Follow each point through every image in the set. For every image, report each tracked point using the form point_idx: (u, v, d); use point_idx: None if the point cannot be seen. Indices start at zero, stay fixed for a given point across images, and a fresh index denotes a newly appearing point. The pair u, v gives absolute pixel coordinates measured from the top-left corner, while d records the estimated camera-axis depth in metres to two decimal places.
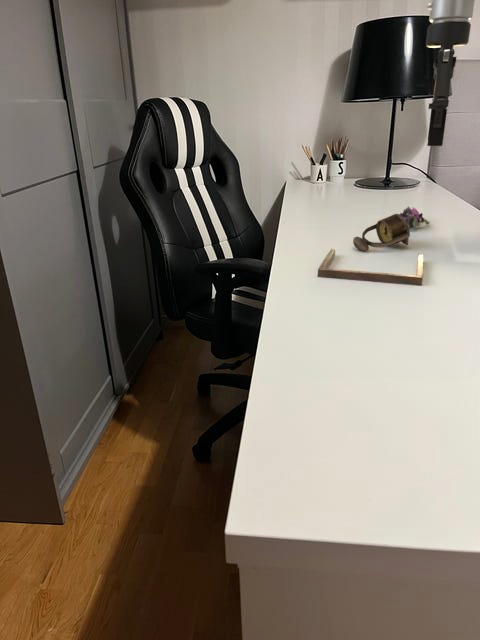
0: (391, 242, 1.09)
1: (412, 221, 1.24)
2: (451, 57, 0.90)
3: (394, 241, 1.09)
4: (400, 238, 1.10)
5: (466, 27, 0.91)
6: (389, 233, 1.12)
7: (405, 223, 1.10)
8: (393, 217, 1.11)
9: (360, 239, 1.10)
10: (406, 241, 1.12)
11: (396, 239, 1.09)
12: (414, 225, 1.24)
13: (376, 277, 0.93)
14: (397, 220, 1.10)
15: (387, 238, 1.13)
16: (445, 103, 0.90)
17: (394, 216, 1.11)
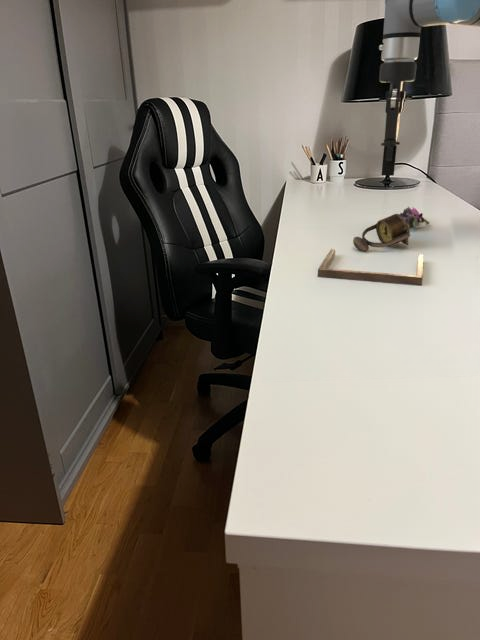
0: (391, 242, 1.09)
1: (412, 221, 1.24)
2: (397, 105, 1.05)
3: (394, 241, 1.09)
4: (400, 238, 1.10)
5: (412, 67, 1.05)
6: (389, 233, 1.12)
7: (405, 223, 1.10)
8: (393, 217, 1.11)
9: (360, 239, 1.10)
10: (406, 241, 1.12)
11: (396, 239, 1.09)
12: (414, 225, 1.24)
13: (376, 277, 0.93)
14: (397, 220, 1.10)
15: (387, 238, 1.13)
16: (393, 143, 1.11)
17: (394, 216, 1.11)
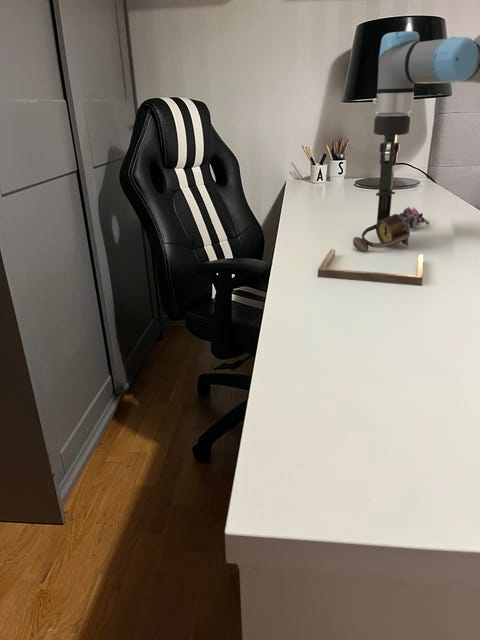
0: (391, 242, 1.09)
1: (412, 221, 1.24)
2: (391, 159, 1.06)
3: (394, 241, 1.09)
4: (400, 238, 1.10)
5: (406, 121, 1.05)
6: (389, 233, 1.11)
7: (405, 223, 1.10)
8: (393, 217, 1.11)
9: (360, 239, 1.10)
10: (406, 241, 1.12)
11: (396, 239, 1.09)
12: (414, 225, 1.24)
13: (376, 277, 0.93)
14: (397, 220, 1.10)
15: (387, 238, 1.13)
16: (388, 194, 1.11)
17: (394, 216, 1.11)
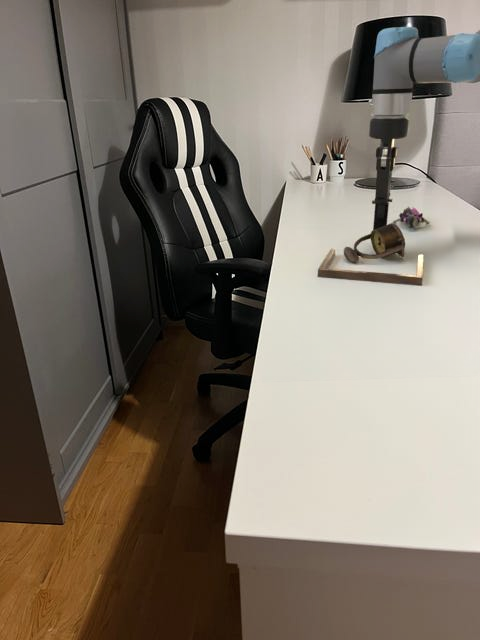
0: (383, 254, 1.02)
1: (412, 221, 1.24)
2: (388, 165, 0.98)
3: (387, 253, 1.02)
4: (394, 250, 1.02)
5: (404, 124, 0.98)
6: (383, 244, 1.04)
7: (400, 234, 1.02)
8: (388, 227, 1.03)
9: (350, 250, 1.03)
10: (402, 253, 1.04)
11: (389, 251, 1.02)
12: (414, 225, 1.24)
13: (376, 277, 0.93)
14: (391, 230, 1.02)
15: (381, 249, 1.06)
16: (385, 202, 1.04)
17: (389, 226, 1.03)
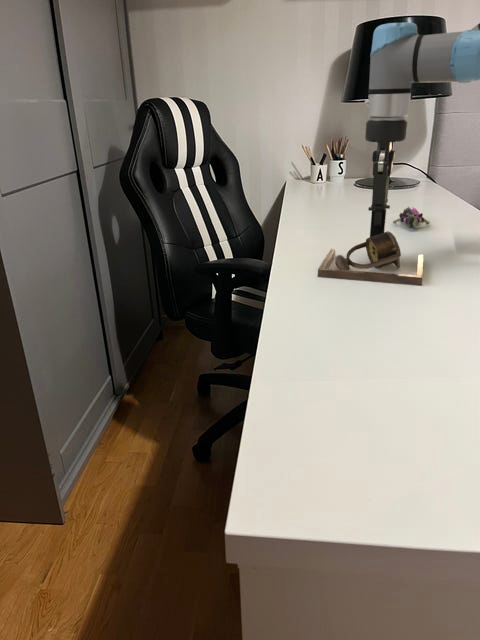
0: (375, 264, 0.96)
1: (412, 221, 1.24)
2: (385, 170, 0.92)
3: (379, 263, 0.96)
4: (387, 260, 0.96)
5: (402, 126, 0.92)
6: (377, 253, 0.98)
7: (395, 243, 0.96)
8: (382, 235, 0.97)
9: (341, 258, 0.98)
10: (397, 263, 0.98)
11: (382, 261, 0.96)
12: (414, 225, 1.24)
13: (376, 277, 0.93)
14: (386, 239, 0.97)
15: (375, 259, 1.00)
16: (382, 209, 0.98)
17: (384, 234, 0.98)
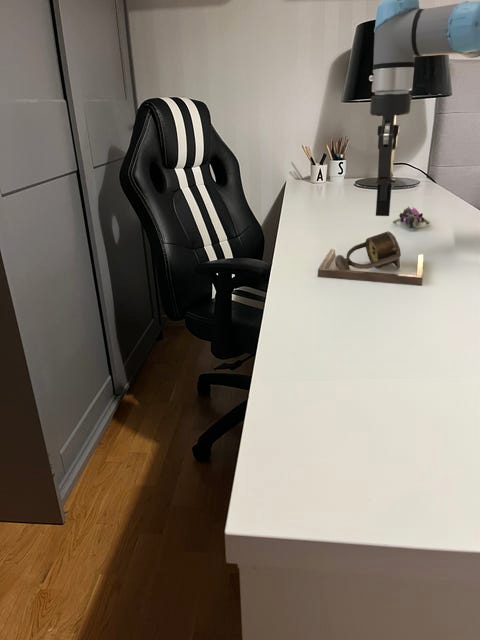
0: (375, 264, 0.96)
1: (412, 221, 1.24)
2: (390, 142, 0.95)
3: (379, 263, 0.96)
4: (387, 260, 0.96)
5: (406, 99, 0.94)
6: (377, 253, 0.98)
7: (395, 243, 0.96)
8: (382, 235, 0.97)
9: (341, 258, 0.98)
10: (397, 263, 0.98)
11: (382, 261, 0.96)
12: (414, 225, 1.24)
13: (376, 277, 0.93)
14: (386, 239, 0.97)
15: (375, 259, 1.00)
16: (388, 182, 1.00)
17: (384, 234, 0.98)
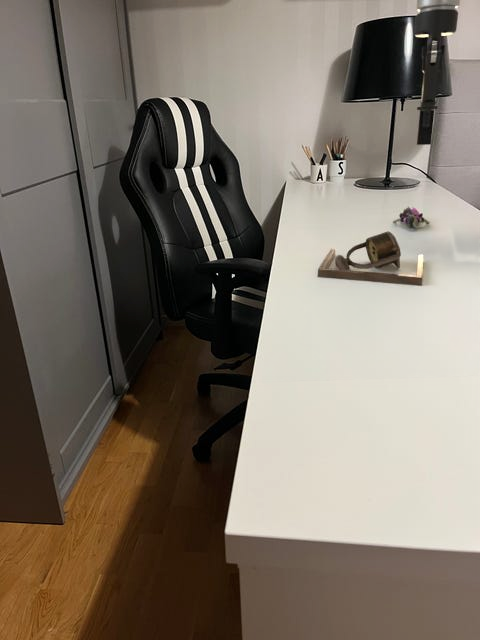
0: (375, 264, 0.96)
1: (412, 221, 1.24)
2: (438, 60, 0.92)
3: (379, 263, 0.96)
4: (387, 260, 0.96)
5: (454, 15, 0.91)
6: (377, 253, 0.98)
7: (395, 243, 0.96)
8: (382, 235, 0.97)
9: (341, 258, 0.98)
10: (397, 263, 0.98)
11: (382, 261, 0.96)
12: (414, 225, 1.24)
13: (376, 277, 0.93)
14: (386, 239, 0.97)
15: (375, 259, 1.00)
16: (432, 106, 0.97)
17: (384, 234, 0.98)
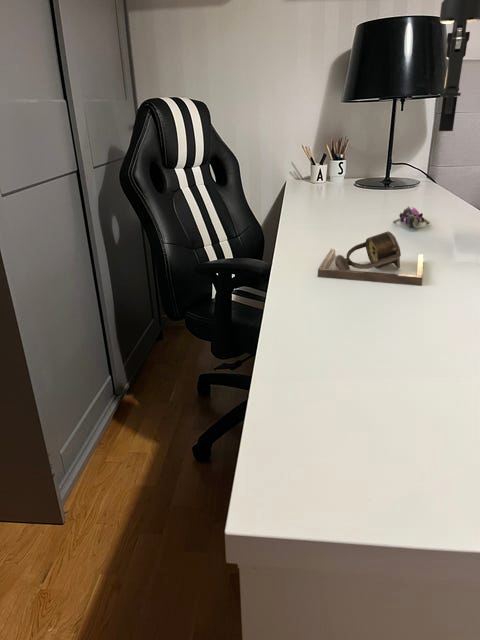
0: (375, 264, 0.96)
1: (412, 221, 1.24)
2: (463, 46, 0.93)
3: (379, 263, 0.96)
4: (387, 260, 0.96)
5: None
6: (377, 253, 0.98)
7: (395, 243, 0.96)
8: (382, 235, 0.97)
9: (341, 258, 0.98)
10: (397, 263, 0.98)
11: (382, 261, 0.96)
12: (414, 225, 1.24)
13: (376, 277, 0.93)
14: (386, 239, 0.97)
15: (375, 259, 1.00)
16: (455, 92, 0.98)
17: (384, 234, 0.98)
